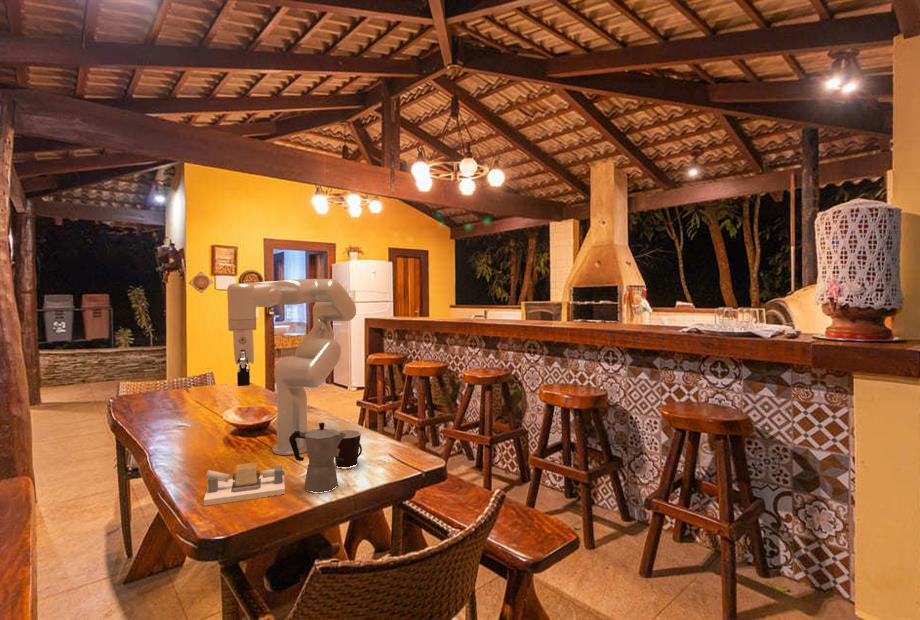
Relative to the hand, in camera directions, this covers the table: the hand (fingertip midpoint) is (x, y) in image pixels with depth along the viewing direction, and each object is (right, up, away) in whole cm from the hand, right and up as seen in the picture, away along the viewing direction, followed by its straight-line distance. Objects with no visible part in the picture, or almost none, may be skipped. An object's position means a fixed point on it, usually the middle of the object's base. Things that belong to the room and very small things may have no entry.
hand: (243, 382), depth 137 cm
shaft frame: (+7, -27, -13) cm, 31 cm away
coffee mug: (+30, -27, +5) cm, 41 cm away
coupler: (+7, -26, -13) cm, 30 cm away
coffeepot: (+25, -28, -10) cm, 39 cm away
